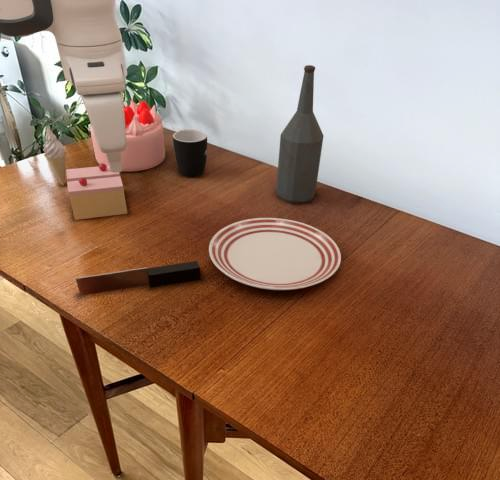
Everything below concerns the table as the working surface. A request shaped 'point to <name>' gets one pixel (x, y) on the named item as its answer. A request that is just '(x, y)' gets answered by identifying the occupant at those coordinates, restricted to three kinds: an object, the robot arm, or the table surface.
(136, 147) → the cake
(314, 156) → the bottle
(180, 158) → the mug
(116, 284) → the knife
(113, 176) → the cake
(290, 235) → the dinner plate
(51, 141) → the ice cream cone
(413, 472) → the table surface
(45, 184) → the table surface
